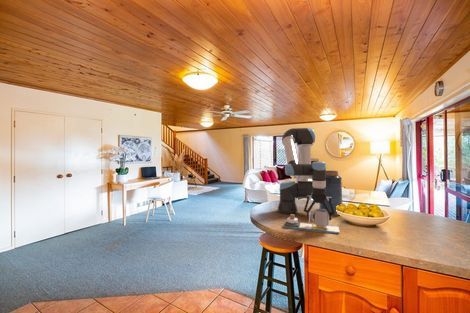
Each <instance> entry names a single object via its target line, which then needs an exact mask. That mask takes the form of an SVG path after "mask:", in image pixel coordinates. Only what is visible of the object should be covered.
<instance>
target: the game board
mask: <svg viewBox="0 0 470 313" xmlns="http://www.w3.org/2000/svg"><path fill="white" fill-rule="evenodd" d="M283 229H289V230H290V229H291V230H299V231H307V232H308V231H309V232H315V233H316V232H317V233H323V232H324V233H326V234H333V235H339V233H340V228H339V226H336V225H329V226H327V227H318V226H316V225H315V223H310V224H309V222H301V221H299V220H298V223H295V224H292V223H288V222H287V220H286V221H285V223H284V225H283ZM324 233H323V234H324Z"/></svg>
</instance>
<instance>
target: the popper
mask: <svg viewBox="0 0 470 313" xmlns="http://www.w3.org/2000/svg"><path fill="white" fill-rule="evenodd" d="M286 221H287V222H288V223H292V224H295V223H298V221H299V220H298V217H296V216H295V214H289V217H287V219H286Z"/></svg>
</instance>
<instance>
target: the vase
mask: <svg viewBox="0 0 470 313" xmlns="http://www.w3.org/2000/svg"><path fill="white" fill-rule="evenodd" d="M342 186H343V184H342V177H341V175H339V171H338V170H326V187H325V189H326V197H331V202H332V206H333V209H334V212H335V214H332V215H331V217H333V216H334V217H335V216H337V217H339V216H338V214H337V212H336V206H337V205H340V204H343V191H342V190H343V187H342ZM325 203H326V205H327V207H328V208H329V210H330V212H332V210H331V207H330V203H329V201H328V200H327V199H326V200H325ZM318 204H319V205H318V206H319V207H318V209H325V210H326V208H325V206H324V205H323V203H318ZM328 214H329V213H328Z"/></svg>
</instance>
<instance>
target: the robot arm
mask: <svg viewBox="0 0 470 313" xmlns="http://www.w3.org/2000/svg"><path fill="white" fill-rule="evenodd" d="M315 142H316V134H315V131H314V129H313V128H311V127H298V128H297V127H296V128H295V127H294V128H290V129H288V130H286V131H285V132H284V133H283V135H282V138H281V143H282V145H283V147H284V153H285V158H286V159H285V160H286V164H285V166H284V174H285V175H286V176H289V177H294V176H295V177H296V176H297V177H299V179H298V180H297V182H296V181H295V180H288V181H287V180H286V181H282V182H280V183H279V203H278V205H277V212H278V213H280V214H284V215H291V214H294V215H295V214H298V213H299V212H298V211H299V210H298V206H297V203H296V199H306V201H305V205H304V208H303V212H304V213H306V218H307V219H308V223H309V224H311V218H310V214H311V212H310V211H311V210H312V208H313V207H314V206H315V204H319V203H323V205H324V206H325V208H326V210H327V211H328V213H329V214H328V226H330V221H332V216H331V215H332V214H335V212H334V209H333V206H332V202H331V197H326V189H325V187H326V171H327V166H326V165H327V164H326V162H325V161H313V162H312V153H311V152H312V149H311V148H312V146H314V145H313V144H314V143H315ZM295 144H296V145H295ZM296 146H297V147H298V152H299V153H298V154H297V149H296ZM298 156H299V157H298ZM311 199H312V200H313V201H312V202H311V203H310V205H309V201H310V200H311ZM326 199H327V200H328V201H329V203H330V207H331V210H332V212H330V210H329V208H328V207H327V205H326V203H325V200H326ZM308 205H309V207H308Z"/></svg>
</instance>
